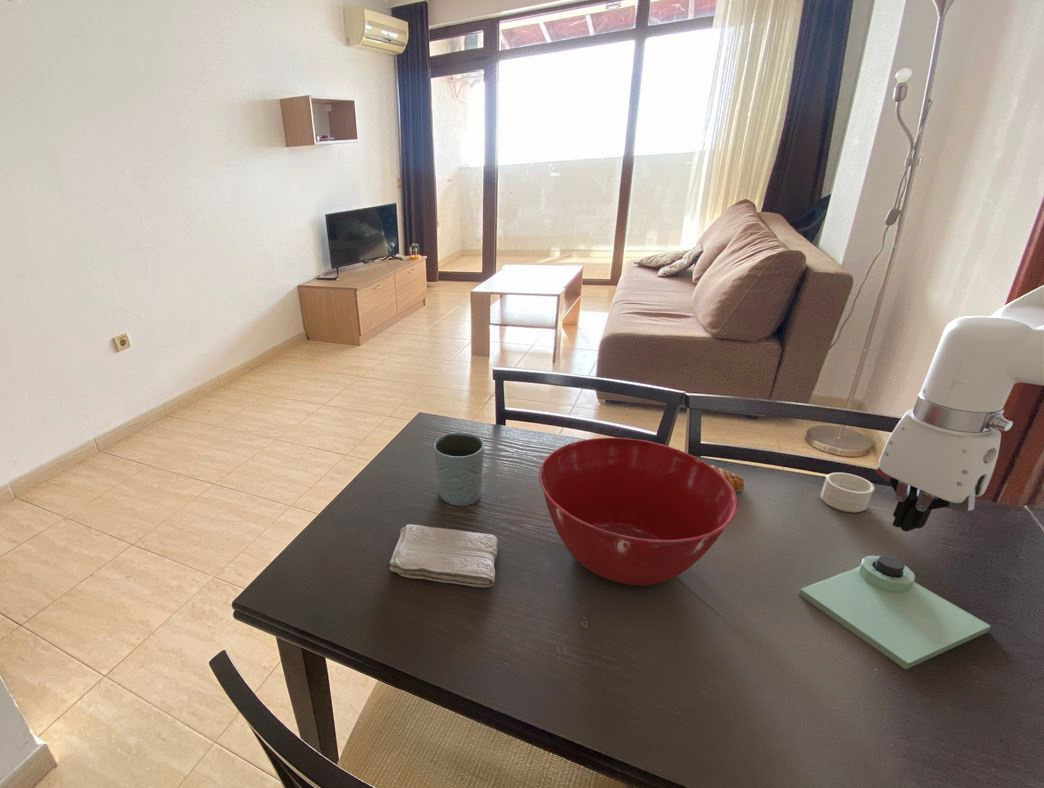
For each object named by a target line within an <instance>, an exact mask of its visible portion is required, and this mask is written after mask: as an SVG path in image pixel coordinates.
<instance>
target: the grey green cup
mask: <svg viewBox="0 0 1044 788" xmlns="http://www.w3.org/2000/svg"><path fill="white" fill-rule="evenodd" d="M433 452H434V460H435V466H436V471H437V481H438V494H439V497H440V496H441V497H440V499H441V498H442V499H443V500H444V501H446V502H448V503H451V504H454V505H468V506H470V505H469V504H471V503H474V502H475V503H477V502H478V501H479V500H480V498H481V495H482V483H483V476H482V475H483V468H484V453H485V442H484V440H483V439H482V438H481V437H479V436H478V435H475V434H473V433H468V432H451V433H446V434H443V435H441V436H439V437H437V439H435V440H434V443H433ZM442 499H441V500H442ZM478 499H479V500H478ZM443 500H442V501H443ZM477 500H478V501H477ZM444 501H443V502H444ZM476 501H477V502H476ZM446 502H445V503H446ZM448 503H447V504H448ZM475 503H474V504H475ZM454 505H453V506H454Z"/></svg>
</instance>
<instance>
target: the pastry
mask: <svg viewBox="0 0 1044 788" xmlns="http://www.w3.org/2000/svg"><path fill="white" fill-rule="evenodd" d="M710 466H711V467H713V468H714V469H715V470H717V471H718V472H719V473H720V474H721V475H723V476H724V478H725V479H726V480H727V481H728V482H729V483H730V485H731V486H732V488H733V490H734V492H735V493H738V492H739V493H740V492H742V491H743V490H744V487H745V485H744V484H745V483H744V481H745V480H744V479H743V477H741V476H739V475H738V474H735V473H733V472H732V471H728V470H725V469H724V468H722V467H721V468H718V467H716V466H715V465H713V464H712V465H710Z"/></svg>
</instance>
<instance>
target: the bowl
mask: <svg viewBox="0 0 1044 788" xmlns="http://www.w3.org/2000/svg"><path fill="white" fill-rule="evenodd" d="M826 475H827V476H826V477H825V480H824V483H823V485H822V489H821V492H820V498H821V500H822V501H823V502H824V503H825V504H826V505H828V506H829V507H831V508H833V509H835V510H838V511H841V512H846V513H861V512H864V511H866V510H867V509H868V507H869V504H870V503H871V499H872V496H873V494H874V492H875V486H874V484H873V483H872V482H870V481H869V480H868V479H866V478H863V477H861V476H859V475H856V474H852V473H849V472H831V473H828V474H826Z"/></svg>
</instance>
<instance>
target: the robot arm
mask: <svg viewBox="0 0 1044 788" xmlns="http://www.w3.org/2000/svg"><path fill="white" fill-rule="evenodd" d="M1018 383H1020V384H1021V383H1024V384H1030V385H1037V386H1044V284H1043V285H1041V286H1039V287H1037V288H1035V289H1033V290H1031V291H1029V292H1027V293H1025V294H1024V295H1022V296H1020V297H1018V298H1016V299H1014V300H1012V301H1011V302H1009V303H1007V304H1006V305H1004V306H1003V307H1001V308H999V309H997V310H996V311H995V312H994V313H993V314H991V315H990V316H986V315H985V316H984V315H973V316H971V315H970V316H962V317H957V318H955V319H954V320H951V322H949V323H948V324H947V325H946V327H945V328H944V330H943V332H942V334H941V337H940V340H939V343H938V345H937V348H936V350H935V353H934V355H933V358H932V360H931V362H930V366H929V368H928V371H927V374H926V376H925V378H924V381H923V383H922V386H921V389H920V391H919V394H918V396H917V399H916V401H915V405H914V406H913V408H911V409H908V410H907V411H906V412H905V413H904V414H903V416H902V417H901V419H899V421H898V423H897V424H896V425H895V427H894V429H893V430H892V432H891V433H890V435H889V437H888V439H887V441H886V443H885V445H884V447H883V449H882V452H881V453H880V457H879V460H878V467H877V469H876V470H875V473H876V475H877V476H879V477H880V478H882V479H883V480H885V481H886V482H888V483H889V484H890V486H891V487H892V488H893V491H894V492H895V497H894V498H895V500H896V501H897V504H896V506H895V509H894V510H893V513H892V516H893V517H894V520H893V522H892V524H891V525H892V526H893V527H895V528H900V529H901V531H903V532H905V533H907V532H910V531H913V530H916V529H922V528H923V527H925V525H926V524H927V522H928V519H929V517H930V515H931V513H932V510H939V509H942V508H945V509H948V510H952V511H956V512H958V513H962V514H966V513H968V512H972V511H974V510H975V504H976V503H975V502H976V497H977V498H978V497H981V496H983V495H984V494H985V492H986V491H987V489H988V486H989V484H990V481H991V479H992V477H993V474H994V470H995V467H996V464H997V461H998V458H999V452H1000V447H1001V439H1002V433H1001V431H1004V432H1007V431H1009V430H1011V428H1012V427H1013V424H1014V421H1012V420H1009V419H1007V418H1006V417H1004V415H1003V414H1004V412H1005V410H1004V407H1005V404H1006V402H1007V400H1008V398H1009V396H1010V395H1011V392H1012V389H1013V387H1014V386H1015V384H1018ZM921 491H922V492H923V494H922V495H921V496H920V492H921ZM919 496H920V497H919Z"/></svg>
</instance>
